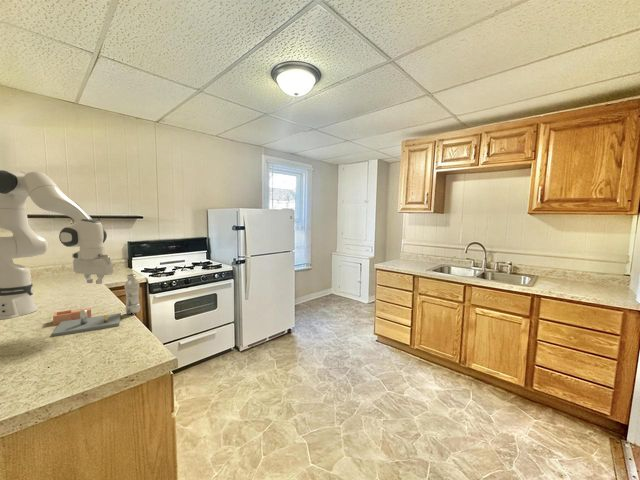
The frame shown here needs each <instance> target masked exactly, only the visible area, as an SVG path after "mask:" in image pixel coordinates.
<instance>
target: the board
mask: <svg viewBox="0 0 640 480" xmlns="http://www.w3.org/2000/svg"><path fill="white" fill-rule="evenodd" d="M107 315H108V322H106V323H104V316H105V315H99V316H91V317H90V318H87V324H84V325H81V324H80V319H76V320H69V321H62V322H60V324H57V327H56V328H55V330H53V332H52V337H58V336H65V335H70V334H77V333H82V332H83V333H84V332H89V331H95V330H101V329H102V330H103V329H107V328H108V329H109V328H114V327H119V326H120V323H121V318H122V314H121V313H120V312H119V313H113V314H107Z"/></svg>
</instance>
